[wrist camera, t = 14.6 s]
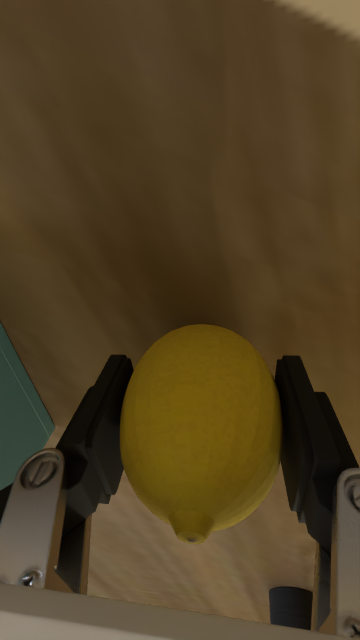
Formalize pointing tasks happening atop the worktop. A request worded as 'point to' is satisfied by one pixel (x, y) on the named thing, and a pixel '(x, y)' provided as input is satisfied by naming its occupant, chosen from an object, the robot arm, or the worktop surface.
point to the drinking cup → (291, 607)
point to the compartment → (18, 414)
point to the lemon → (201, 430)
